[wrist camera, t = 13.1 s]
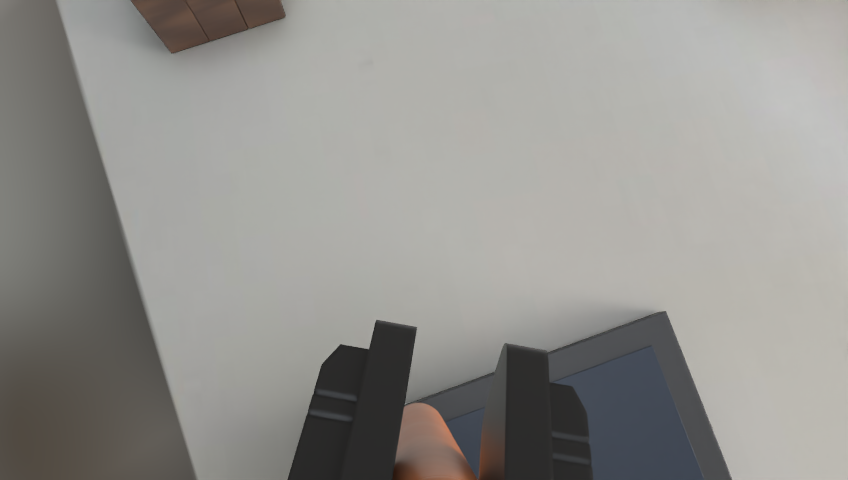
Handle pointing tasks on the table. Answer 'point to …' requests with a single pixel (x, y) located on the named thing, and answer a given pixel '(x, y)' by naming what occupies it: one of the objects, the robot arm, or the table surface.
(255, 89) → the table surface
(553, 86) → the table surface
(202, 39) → the pen holder
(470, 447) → the tablet
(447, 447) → the stylus
